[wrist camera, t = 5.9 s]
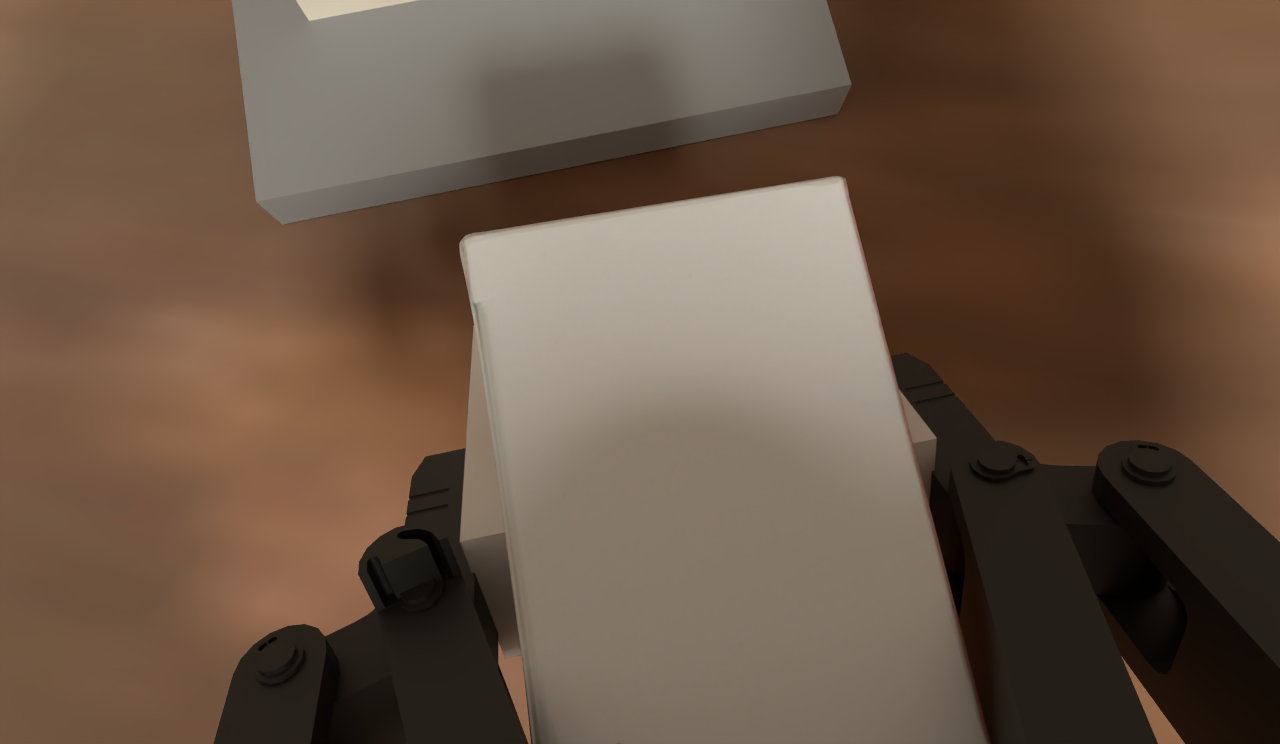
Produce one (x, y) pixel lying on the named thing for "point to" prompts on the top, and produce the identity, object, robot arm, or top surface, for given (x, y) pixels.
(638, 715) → the small box
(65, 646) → the top surface
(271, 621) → the top surface
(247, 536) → the top surface
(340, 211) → the pedestal
